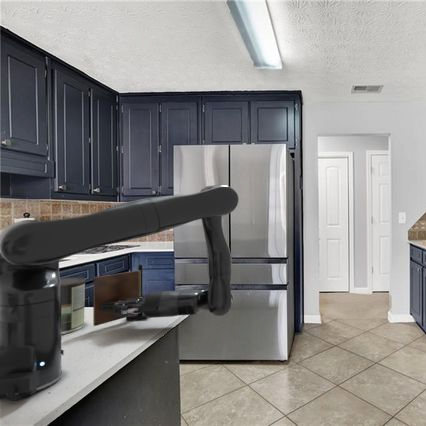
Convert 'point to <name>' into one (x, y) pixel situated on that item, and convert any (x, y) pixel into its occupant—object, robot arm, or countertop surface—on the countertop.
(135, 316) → the hinge post
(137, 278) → the door
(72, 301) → the coffee can
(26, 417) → the countertop surface
